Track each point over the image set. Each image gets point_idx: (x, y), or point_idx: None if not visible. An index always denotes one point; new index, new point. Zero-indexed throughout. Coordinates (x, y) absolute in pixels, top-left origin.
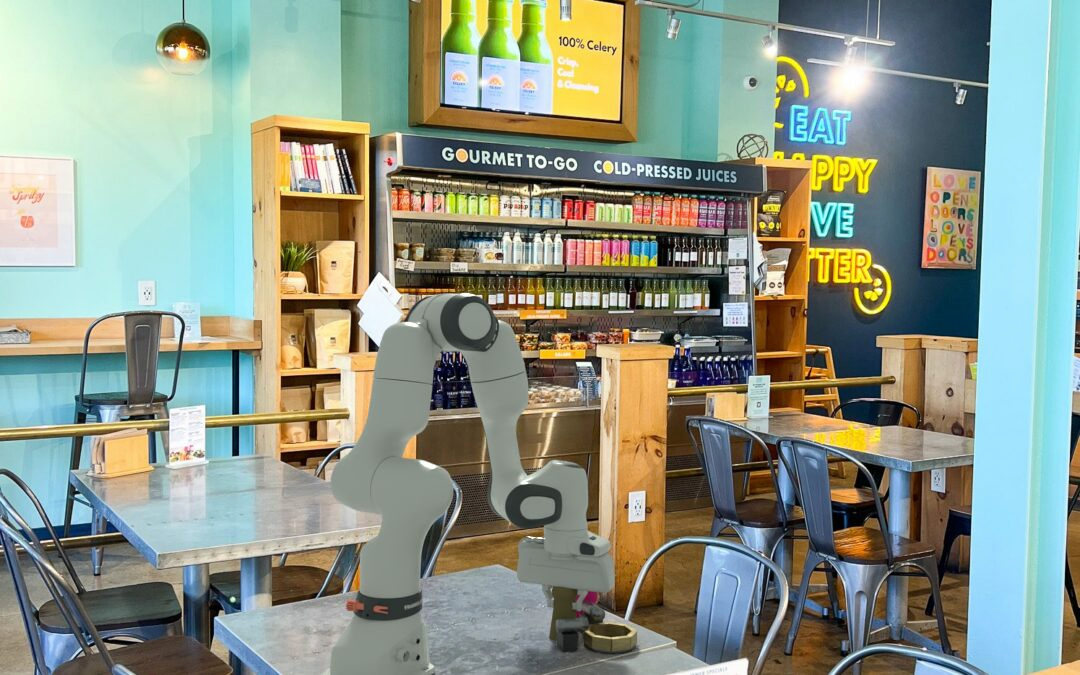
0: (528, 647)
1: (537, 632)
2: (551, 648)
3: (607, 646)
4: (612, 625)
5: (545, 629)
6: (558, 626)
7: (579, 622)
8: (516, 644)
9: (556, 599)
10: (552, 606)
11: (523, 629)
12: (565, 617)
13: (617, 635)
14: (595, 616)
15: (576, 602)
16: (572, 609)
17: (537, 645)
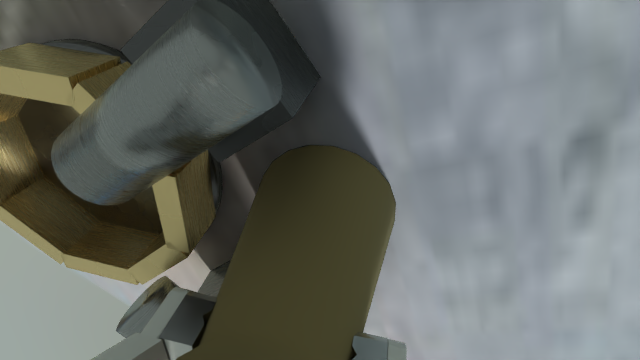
0: (490, 2)
1: (464, 246)
2: (338, 34)
3: (22, 49)
4: (116, 261)
5: (432, 281)
6: (220, 32)
7: (86, 120)
8: (587, 37)
9: None
10: (362, 337)
11: (542, 272)
12: (263, 242)
13: (121, 229)
14: (156, 292)
15: (157, 340)
16: (216, 300)
17: (433, 62)
